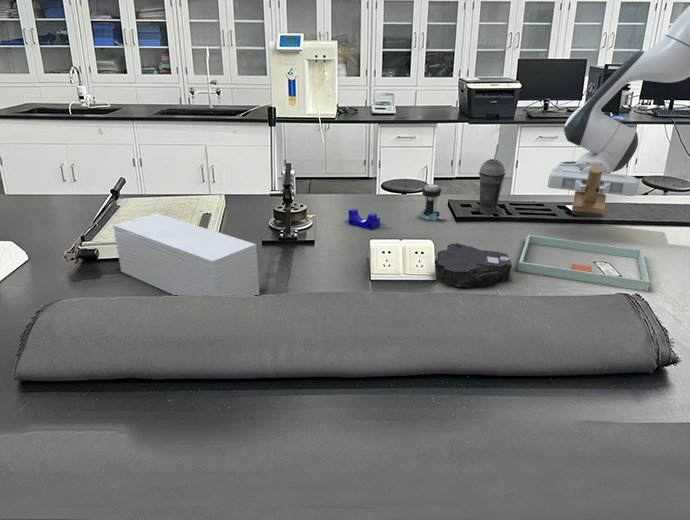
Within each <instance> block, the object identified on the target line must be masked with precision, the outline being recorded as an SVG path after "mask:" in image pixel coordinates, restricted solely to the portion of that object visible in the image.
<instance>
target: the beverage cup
mask: <svg viewBox="0 0 690 520" xmlns="http://www.w3.org/2000/svg"><path fill="white" fill-rule="evenodd" d="M498 151H499V143H498V144H496V147H495V153H494V157H493V158H490V159H488V160H486V161H484V162H483V163H482V164H481V166H480V169H479V171H478V174H479V177H478V178H479V213H481V214H484V215H494V214H496V211H497V208H498V204H499V199H500V195H501V189H502V185H503V182H504V179H505V176H506V170H505V167H504V164H503V163H502V162H501V161H500V160H498V159H497V157H498Z"/></svg>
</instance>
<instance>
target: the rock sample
mask: <svg viewBox="0 0 690 520" xmlns="http://www.w3.org/2000/svg"><path fill="white" fill-rule="evenodd" d="M436 256H437V257H436V258H435V260H434V268H435V269H436V274H437V279H438V280H439V281H440V282H443V283H445V284H447V286H448V285H449V286H451V287H457V288H464V289H465V288H467V289H468V288H474V287H477V288H479V287H480V288H482V287H489V286H493V285H495V283H504V282H508V281H509V279H510V275H511V270H512V267H513V264H512V261H511V260H512V259H511V258H510V256H509V254H507V253H504V252H502V251H501V252H500V251H494V250H485V249H479V248H476V247H474V246H471V245H466V244H461V243H458V242H455V243H450V244H448V245H447V247H446V249H444V250H439V252H437V254H436Z"/></svg>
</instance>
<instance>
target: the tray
mask: <svg viewBox="0 0 690 520" xmlns="http://www.w3.org/2000/svg"><path fill="white" fill-rule="evenodd" d="M524 242H525V243H524V245H523V249H522V251H521V254H520V258H519V261H518V265H517V272H524V273H530V274H536V275H543V276H550V277H555V278H561V279H569V280H575V281H582V282H587V283H592V284H600V285H606V286H612V287H613V286H614V287H619V288H626V289H631V290H632V289H633V290H637V291H638V290H639V291H646V292H648V291H649V288H650V284H651V281H650V280H651V279H650V276H649V271H648V268H647V264H646V260H645V259H646V258H645V254H644V252H643V251H644V250H643V249H639V248H632V247H624V246H616V245H609V244H602V243H601V244H600V243H593V242H586V241H577V240H570V239H563V238H557V237H556V238H555V237H548V236H541V235H534V234H533V235H532V234H528V235H527V237H526V239H525V241H524ZM531 244H533V245H540V246H547V247H554V248H561V249H567V250H568V249H570V250H575V251H582V252H590V253H597V254H606V255H612V256H620V257H626V258H635V259H637V260H638V267H639V269H640V275H641V279H639V278H632V277H624V276H618V275H613V274H612V275H611V274H605V273H599V272H598V273H597V272H585V271H579V270H572V269H571V268H566V267H558V266H551V265H546V264H545V265H544V264H539V263H532V262H525V259H526V254H527V251H528V248H529V245H531Z"/></svg>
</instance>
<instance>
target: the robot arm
mask: <svg viewBox="0 0 690 520" xmlns="http://www.w3.org/2000/svg"><path fill="white" fill-rule="evenodd" d="M688 78H690V5H688V6H687V8H686V9H685V10H684V11H683V12H682V13H680V15H679V16H678V17H677V18H676V19H675V20H674V22H673V23H672V24H671V25H670V26H669V27H668V29H667V30H666V32H665V33H664V35H663V36H662V37H661V38H660V39H659V41H658V42H657V43H655V44H654V45H653V46H651V47H650V48H648V49H646V50H639V51H637V52H635V53H634V54H633V53H632V55H631V56H629V57H628V58H627V59H626V60H625V61H624V62H623V63H622V64H621V65H620V66H619V67H618V68H617V69H616V70H615V71H613V73H612V74H611V75H610V76H609V77H608V78H607V79H606V80H605V81H604V82H603V83H602V84H601V86H600V87H598V89H597V90H596V91H595V92H593V94H592V95H591V96H590V97H589V98H588V99H587V101H585V103H583V104H582V105H581V106H580V107H578V108H576V110H574V111H573V112H572V114H570V116H569V117H568V118H567V120H566V122H565V124H564V126H563V132H564V135H565V139H566V140H567V142H569V143H571V144H574V145H575V146H578V147H581V148H583V149H585V150H586V151H587V152H585V153H583V155H581V156H580V157H579V158H578V160H575V161H559V162H558V163H557V166H555V167H553V168H552V169H551V170H550V172H549V175H548V181H547V188H550V189H555V190H556V189H557V190H566V191H574V192H575V191H576V192H583V193H585V191H586V184H587V179H588V174H589V169H590V167H591V166H592V165H600V166H602V167H603V172H602V176H601V180H600V185H599V189H598V193H597V194H602V195H604V194H606V195H617V196H627V197H635V196H637V194H638V191H639V185H640V182H639V179H637V177H635V176H633V175H627V174H619V173H614V172H619V170H620V171H621V170H622V169H624V167H625V166H626V165H627V164H628V163H629V162H630V160H631V159H632V157H634V155H635V153H636V151H637V149H638V145H639V136H638V132H637V131H636V130H635V129H633V128H631V127H630V126H628V125H626V124H624V123H622V122H620V121H618V120H616V119H614V118H612V117H611V116H609V115H607V114H605V113H603V111H602V108H604V106H605V105H606V104H607V103H608V102H609V101H610V100H611V99H612V98H614V96H615V95H617V93H618V92H619V91H620V90H621V89H622V88H623V87H624V86H625V85H627V84H630V83H632V82H635V81H636V82H637V81H647V82H648V81H649V82H654V83H655V82H656V83H665V84H666V83H677V82H681V81H684V80H687V79H688Z"/></svg>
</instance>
